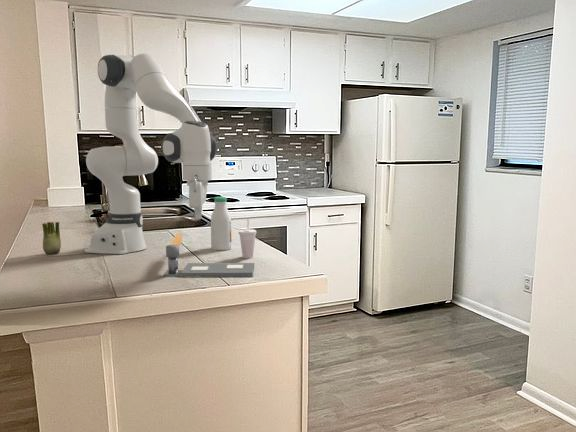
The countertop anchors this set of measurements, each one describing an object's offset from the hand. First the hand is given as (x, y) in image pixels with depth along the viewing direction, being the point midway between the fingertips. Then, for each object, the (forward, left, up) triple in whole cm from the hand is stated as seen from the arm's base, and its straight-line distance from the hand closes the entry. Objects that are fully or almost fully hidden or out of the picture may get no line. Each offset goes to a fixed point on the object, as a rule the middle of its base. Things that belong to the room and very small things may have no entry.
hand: (198, 218), depth 158 cm
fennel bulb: (-58, +27, -18) cm, 66 cm away
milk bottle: (+3, +35, -18) cm, 39 cm away
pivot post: (-8, -1, -17) cm, 19 cm away
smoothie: (+14, +21, -18) cm, 30 cm away
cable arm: (-9, +8, -12) cm, 17 cm away
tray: (+6, +2, -17) cm, 18 cm away
